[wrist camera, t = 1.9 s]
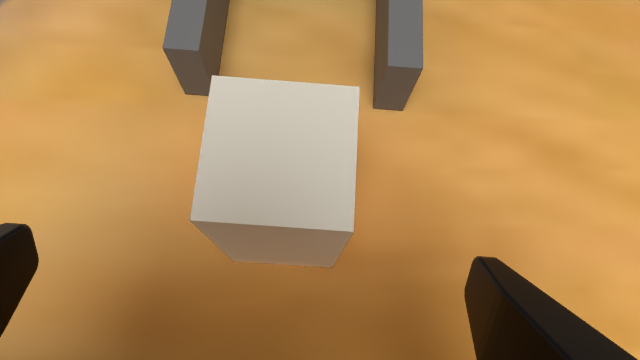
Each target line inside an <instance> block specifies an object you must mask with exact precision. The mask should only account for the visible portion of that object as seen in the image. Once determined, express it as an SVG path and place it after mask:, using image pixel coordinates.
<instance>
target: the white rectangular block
mask: <svg viewBox="0 0 640 360" xmlns="http://www.w3.org/2000/svg"><path fill="white" fill-rule="evenodd" d="M358 111H359V87H355V86H342V85H329V84H317V83H304V82H291V81H278V80H265V79H252V78H240V77H227V76H214V75H212V78H211V85H210V91H209V98H208V105H207V111H206V118H205V124H204V131H203V137H202V144H201V150H200V157H199V163H198V170H197V176H196V183H195V190H194V196H193V203H192V209H191V216H190V221H191V222H192V223H193V224H194V225H195V226H196V227H197V228H198V229H200V230H201V231H202V232H203V233H204V234H205V235H206V236H207V237H208V238H209V239H210V240H211V241H212V242H213V243H214V244H215V245H216V246H217V247H218V248H219V249H221V250H222V251H223V252H224V253H225V254H226V255H227V256H228V257H229V258H230V259H231V260H232V261H237V262H251V263H266V264H281V265H295V266H310V267H324V268H332V267H333V266H334V264H335V262H336V261H337V259H338V257H339V256H340V254H341V252H342V251H343V249H344V247H345V246H346V244H347V242H348V240H349V239H350V237H351V235H352V234H353V232H354V209H355V185H356V160H357V136H358Z"/></svg>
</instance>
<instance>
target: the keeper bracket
mask: <svg viewBox="0 0 640 360" xmlns="http://www.w3.org/2000/svg"><path fill="white" fill-rule="evenodd" d="M228 7H229V0H172V2H171V8H170V13H169V18H168V23H167V28H166V33H165V39H164V44H163V50H164V52H165V54H166V56H167V58H168V60H169V62H170V64H171V66H172V68H173V70H174V72H175V74H176V76H177V78H178V80H179V82H180V84H181V86H182V88H183V90H184V92H185V94H193V95H206V96H209V91H210V85H211V78H212V75H214V76H218V74H219V67H220V61H221V54H222V47H223V40H224V34H225V27H226V20H227V13H228ZM422 70H423V7H422V0H376V31H375V64H374V98H373V108H375V109H388V110H401V111H403V109H404V107H405V105H406V102H407V100H408V98H409V96H410V94H411V92H412V90H413V88H414V86H415V84H416V82H417V80H418V78H419V76H420V74H421V72H422Z"/></svg>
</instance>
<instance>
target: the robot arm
mask: <svg viewBox="0 0 640 360" xmlns="http://www.w3.org/2000/svg"><path fill="white" fill-rule="evenodd" d="M38 262H39V258H38V253H37V250H36V246H35V242H34V238H33V234H32V231H31V229H30V227H29V226H27V225H26V224H15V223H4V224H1V225H0V337H1V335H2V333H3V332H4V330H5V328H6V326H7V325H8V323H9V321H10V319H11V317H12V315H13V313H14V312H15V310H16V308H17V306H18V304H19V302H20V300H21V298H22V297H23V295H24V293H25V291H26V289H27V287H28V285H29V283H30V281H31V280H32V278H33V276H34V274H35V272H36V270H37V267H38ZM464 295H465V302H466V308H467V313H468V318H469V323H470V328H471V333H472V338H473V343H474V349H475V354H476V358H477V360H638V359H636V358H635V357H633V356H632V355H631V354H629V353H628V352H626V351H625V350H624V349H622V348H621V347H619V346H618V345H617V344H615V343H614V342H613V341H611V340H610V339H608V338H607V337H606V336H604V335H603V334H601V333H600V332H599V331H597V330H596V329H594V328H593V327H592V326H590V325H589V324H588V323H586V322H585V321H583V320H582V319H581V318H579V317H578V316H576V315H575V314H574V313H572V312H571V311H569V310H568V309H567V308H565V307H564V306H563V305H561V304H560V303H558V302H557V301H556V300H554V299H553V298H551V297H550V296H549V295H547V294H546V293H544V292H543V291H542V290H540V289H539V288H538V287H536V286H535V285H533V284H532V283H531V282H529V281H528V280H526V279H525V278H524V277H522V276H521V275H519V274H518V273H517V272H515V271H514V270H513V269H511V268H510V267H508V266H507V265H506V264H504V263H503V262H501V261H500V260H499V259H497V258H495V257H482V256H477V257H476V258H474V260H473V262H472V265H471V268H470V272H469V275H468V279H467V282H466V286H465V294H464Z"/></svg>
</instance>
